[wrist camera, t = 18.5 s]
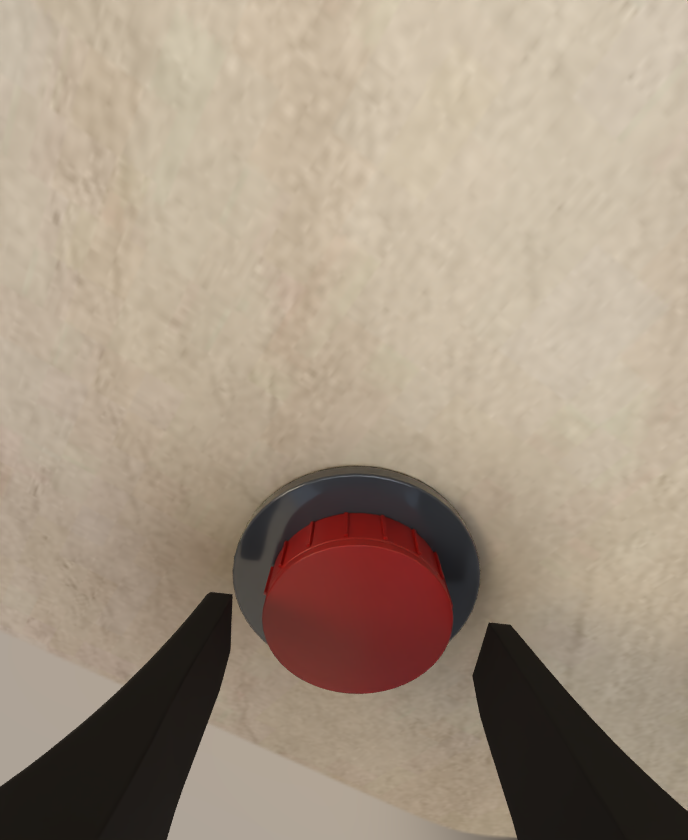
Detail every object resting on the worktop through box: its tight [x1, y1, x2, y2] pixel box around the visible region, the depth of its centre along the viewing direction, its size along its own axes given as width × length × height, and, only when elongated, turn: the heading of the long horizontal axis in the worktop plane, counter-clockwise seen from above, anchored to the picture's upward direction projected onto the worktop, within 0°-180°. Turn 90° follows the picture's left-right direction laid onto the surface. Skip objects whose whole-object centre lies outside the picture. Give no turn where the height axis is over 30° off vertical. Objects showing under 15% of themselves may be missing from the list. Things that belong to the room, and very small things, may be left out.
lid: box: [262, 512, 453, 694], centre depth 12 cm, size 6×6×2 cm
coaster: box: [233, 466, 480, 644], centre depth 14 cm, size 8×8×1 cm
